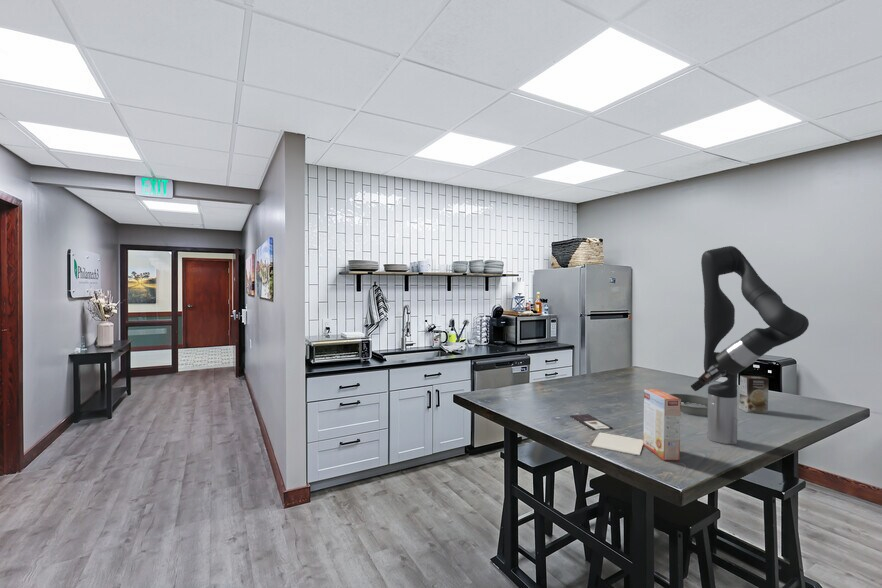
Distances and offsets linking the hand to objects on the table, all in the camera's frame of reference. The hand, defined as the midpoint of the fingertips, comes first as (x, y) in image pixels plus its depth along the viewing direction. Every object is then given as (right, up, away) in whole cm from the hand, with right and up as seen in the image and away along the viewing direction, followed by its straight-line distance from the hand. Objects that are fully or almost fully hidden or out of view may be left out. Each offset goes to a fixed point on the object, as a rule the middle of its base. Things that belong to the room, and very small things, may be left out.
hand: (693, 388), depth 137 cm
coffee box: (+64, -24, +58) cm, 90 cm away
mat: (-18, -24, +17) cm, 34 cm away
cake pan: (+37, -24, +62) cm, 76 cm away
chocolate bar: (-19, -25, +41) cm, 52 cm away
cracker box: (-6, -25, +8) cm, 27 cm away
